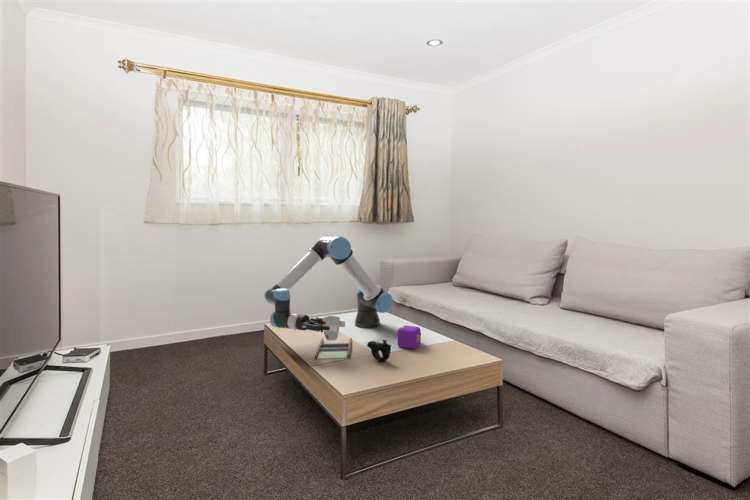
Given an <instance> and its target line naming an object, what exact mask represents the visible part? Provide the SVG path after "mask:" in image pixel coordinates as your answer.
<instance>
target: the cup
mask: <svg viewBox="0 0 750 500" xmlns="http://www.w3.org/2000/svg"><path fill="white" fill-rule="evenodd" d="M322 318H323V325H324V324H326V325H335V326H337V332H333V331H324V330H323V333H324V337H325V339H326V340H327V341H335V340H337V339H338V336H339V334H340V333H339V331H340V327H339V325H340V321H341V319H340V318H341V317H339V316H337V315H329V316H328V315H327V316H324V317H322Z"/></svg>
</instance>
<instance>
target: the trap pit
mask: <svg viewBox="0 0 750 500" xmlns="http://www.w3.org/2000/svg"><path fill="white" fill-rule="evenodd" d="M348 345H349V342H343V343H342V342H341V343H339V342H337V343H336V342H335V343H323V344H321V348H320V351H348Z"/></svg>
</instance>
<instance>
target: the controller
mask: <svg viewBox="0 0 750 500" xmlns="http://www.w3.org/2000/svg"><path fill="white" fill-rule="evenodd" d="M366 347H367V348H369V349H370V350H371V355H372V357H373V358H374V360H375V361H377V362H381V363H382V362H385V361H387V360H388V359H389V358H390V356H391V353H392V352H391V350H392V349H391V347H392V345H391V344H389V343H388V340H387V339H382V342H377V341H374V340H371V341H368V342H367V345H366ZM380 353H381V354H382V356H381V354H380Z"/></svg>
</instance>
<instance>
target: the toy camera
mask: <svg viewBox="0 0 750 500" xmlns="http://www.w3.org/2000/svg"><path fill="white" fill-rule="evenodd" d="M421 332H422V331H421V328H420V326H415V325H404V326H401V327H400V328H398V329H397V333H396V334H397V337H396V338H397V339H396V340H397V346H398V347H399V348H403V349H410V350H414V349H416V348H417V347H418V346H420V345H421V338H422V333H421Z"/></svg>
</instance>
